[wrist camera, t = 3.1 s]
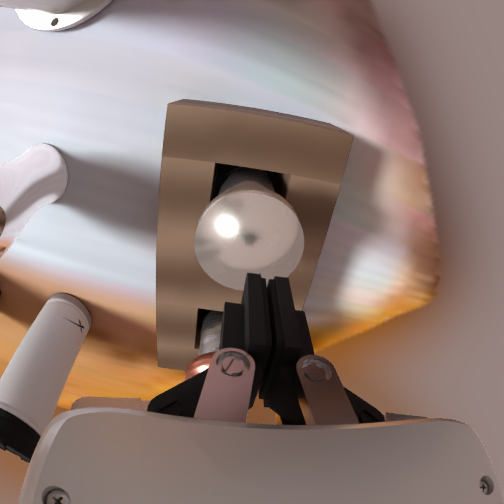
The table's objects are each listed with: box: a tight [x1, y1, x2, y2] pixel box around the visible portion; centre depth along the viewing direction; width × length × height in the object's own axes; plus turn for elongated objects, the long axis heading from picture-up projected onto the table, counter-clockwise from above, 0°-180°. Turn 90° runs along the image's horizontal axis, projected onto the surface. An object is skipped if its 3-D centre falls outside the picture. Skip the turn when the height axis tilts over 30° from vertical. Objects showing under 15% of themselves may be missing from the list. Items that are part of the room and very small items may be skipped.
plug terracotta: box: [185, 309, 259, 396], centre depth 26 cm, size 6×6×8 cm
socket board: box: [156, 99, 353, 371], centre depth 27 cm, size 24×12×6 cm, turn 170°
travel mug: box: [0, 293, 91, 463], centre depth 25 cm, size 6×7×20 cm
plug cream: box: [194, 167, 304, 291], centre depth 20 cm, size 6×6×8 cm
